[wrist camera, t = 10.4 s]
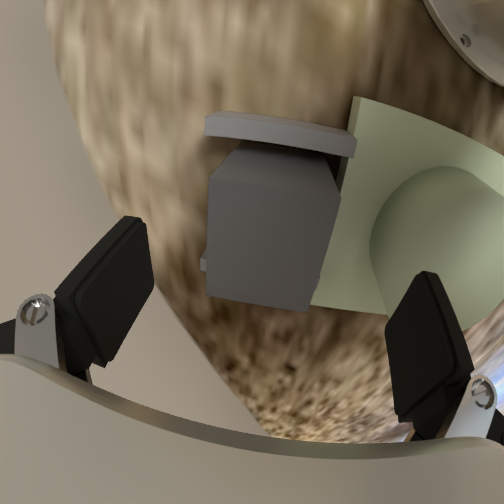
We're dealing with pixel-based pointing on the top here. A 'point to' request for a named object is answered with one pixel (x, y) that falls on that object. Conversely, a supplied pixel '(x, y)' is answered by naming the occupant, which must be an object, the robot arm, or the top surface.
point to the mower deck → (373, 183)
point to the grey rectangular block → (269, 225)
